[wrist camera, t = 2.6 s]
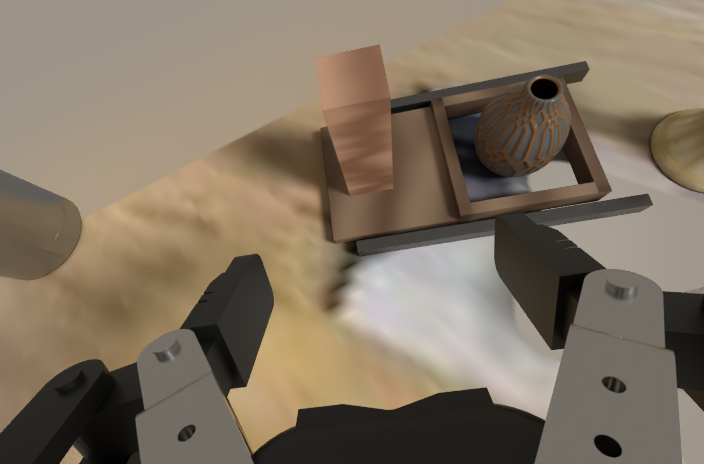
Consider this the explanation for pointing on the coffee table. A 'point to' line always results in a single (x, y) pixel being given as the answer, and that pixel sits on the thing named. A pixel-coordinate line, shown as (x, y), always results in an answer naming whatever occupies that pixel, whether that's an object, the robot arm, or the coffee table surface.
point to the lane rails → (487, 227)
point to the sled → (417, 156)
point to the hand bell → (681, 148)
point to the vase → (523, 127)
